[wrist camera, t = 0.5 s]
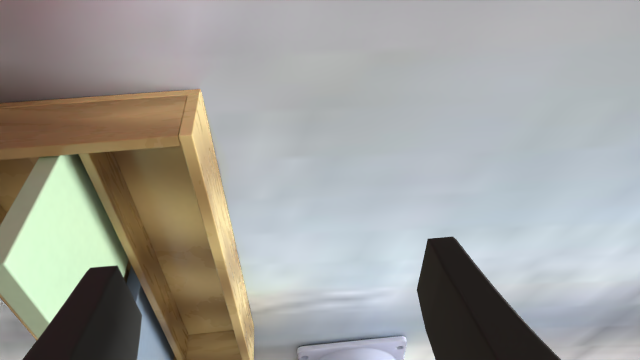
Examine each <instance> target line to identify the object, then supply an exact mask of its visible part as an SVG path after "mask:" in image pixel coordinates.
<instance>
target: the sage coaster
mask: <svg viewBox="0 0 640 360" xmlns="http://www.w3.org/2000/svg"><path fill="white" fill-rule="evenodd" d="M128 260H129V259H128V257H127V254H126V252H125V250H124V248H123V246H122V244H121V242H120V240H119V238H118V236H117V234H116V231H115V229H114V227H113V225H112V223H111V221H110V219H109V217H108V215H107V213H106V211H105V209H104V206H103V204H102V202H101V200H100V198H99V196H98V194H97V192H96V190H95V188H94V186H93V183H92V181H91V179H90V177H89V175H88V173H87V171H86V169H85V167H84V165H83V163H82V160H81V158H80V156H79V154H73V155H60V156H47V157H39V158H38V160H37V162H36V164H35V165H34V167H33V169H32V171H31V172H30V174H29V176H28V178H27V179H26V181H25V183H24V185H23V186H22V188H21V190H20V191H19V193H18V195H17V197H16V198H15V200H14V202H13V204H12V205H11V207H10V209H9V211H8V212H7V214H6V216H5V218H4V219H3V221H2V223H1V225H0V294H1V296H2V297H3V298H4V299H5V300H6V302H7V303H8V304H9V305H10V306H11V308H12V309H13V310H14V311H15V312H16V313H17V315H18V316H19V317H20V318H21V319H22V321H23V322H24V323H25V324H26V325H27V326H28V328H29V329H30V330H31V331H32V332H33V334H34V335H35V336H36V337H37V338H39V337H40V336H41V334H42V333H43V332H44V330H45V329H46V328H47V326H48V325H49V324H50V322H51V321H52V319H53V318H54V317H55V315H56V314H57V313H58V311H59V310H60V308H61V307H62V306H63V304H64V303H65V301H66V300H67V299H68V297H69V296H70V294H71V293H72V291H73V290H74V289H75V287H76V286H77V284H78V283H79V282H80V280H81V279H82V277H83V276H84V275H85V273H86V272H87V271H88V270H89V268H93V267H104V266H116V265H118V267H119V269H120V271H121V273H122V275H123V278H124V275H125V272H126V268H127V264H128Z"/></svg>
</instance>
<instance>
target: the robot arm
mask: <svg viewBox="0 0 640 360" xmlns="http://www.w3.org/2000/svg"><path fill="white" fill-rule="evenodd" d="M417 292H418V297H419V302H420V307H421V311H422V316H423V320H424V324H425V329H426V332H427V335H428V338H429V341H430V344H431V347H432V350H433V353H434V356H435V359H436V360H561V359H560V358H559V357H558V356H557V355H556V354H555V353H554V352H553V351H552V350H551V349H550V348H549V347H548V346H547V345H546V344H545V343H544V342H543V341H542V340H541V339H540V338H539V337H538V336H537V335H536V334H535V332H534V331H533V330H532V329H531V328H530V327H529V326H528V325H527V324H526V323H525V322H524V321H523V319H522V318H521V317H520V316H519V315H518V314H517V313H516V311H515V310H514V309H513V308H512V307H511V306H510V305H509V304H508V302H507V301H506V300H505V299H504V298H503V297H502V296H501V294H500V293H499V292H498V291H497V290H496V289H495V287H494V286H493V285H492V284H491V283H490V281H489V280H488V279H487V278H486V276H485V275H484V274H483V273H482V272H481V270H480V269H479V268H478V267H477V265H476V264H475V263H474V262H473V260H472V259H471V258H470V256H469V255H468V254H467V253H466V251H465V250H464V249H463V247H462V246H461V245H460V244H459V242H458V241H457V240H456V239H455V238H454V237H444V238H432V239H428V241H427V245H426V250H425V255H424V259H423V264H422V269H421V273H420V278H419V283H418V287H417ZM141 322H142V314H141V312H140V310H139V308H138V306H137V304H136V302H135V300H134V298H133V296H132V294H131V292H130V290H129V288H128V286H127V284H126V282H125V280H124V278H123V275H122V273H121V271H120V269H119V267H118V265H116V266H104V267H93V268H89V270H88V271H87V272H86V273H85V275H84V276H83V277H82V279H81V280H80V282H79V283H78V284H77V286H76V287H75V289H74V290H73V291H72V293H71V294H70V296H69V297H68V299H67V300H66V301H65V303H64V304H63V306H62V307H61V308H60V310H59V311H58V313H57V314H56V315H55V317H54V318H53V319H52V321H51V322H50V324H49V325H48V326H47V328H46V329H45V330H44V332H43V333H42V334H41V336H40V337H39V338H38V340H37V341H36V342H35V344H34V345H33V346H32V348H31V349H30V350H29V352H28V353H27V354H26V356H25V357H24V358H23V360H137V356H138V348H139V341H140V331H141ZM406 345H407V341H406V338H405V337H403V336H396V337H386V338H376V339H367V340H357V341H347V342H338V343H328V344H318V345H309V346H301V347H299V348H298V349H297V356H298V360H404V355H405V350H406Z"/></svg>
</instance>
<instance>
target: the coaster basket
mask: <svg viewBox="0 0 640 360" xmlns="http://www.w3.org/2000/svg"><path fill="white" fill-rule="evenodd" d="M73 154H79V156H80V158H81V160H82V163H83V165H84V167H85V169H86V171H87V173H88V175H89V177H90V179H91V181H92V183H93V186H94V188H95V190H96V192H97V194H98V196H99V198H100V200H101V202H102V204H103V206H104V209H105V211H106V213H107V215H108V217H109V219H110V221H111V223H112V225H113V227H114V229H115V231H116V234H117V236H118V238H119V240H120V242H121V244H122V246H123V248H124V250H125V252H126V254H127V257H128V259H129V260H128V264H127V268H126V272H125V275H124V280H125V282H126V283H127V279H128V276H129V272H130V268H131V265H132V267H133V269H134V271H135V273H136V275H137V277H138V280H139V282H140V284H141V286H142V288H143V290H144V292H145V294H146V296H147V298H148V300H149V302H150V305H151V307H152V309H153V311H154V313H155V315H156V317H157V319H158V321H159V323H160V325H161V328H162V330H163V332H164V334H165V336H166V338H167V340H168V342H169V344H170V346H171V348H172V351H173V353H174V359H173V360H254V325H253V320H252V316H251V311H250V307H249V302H248V298H247V293H246V289H245V284H244V280H243V275H242V271H241V267H240V262H239V258H238V253H237V249H236V244H235V240H234V235H233V231H232V226H231V222H230V218H229V213H228V209H227V204H226V200H225V195H224V191H223V186H222V182H221V177H220V173H219V169H218V164H217V160H216V155H215V151H214V146H213V142H212V137H211V133H210V128H209V124H208V120H207V115H206V111H205V106H204V102H203V97H202V93H201V90H200V89H195V90H181V91H166V92H152V93H138V94H124V95H109V96H95V97H81V98H67V99H52V100H38V101H24V102H10V103H0V225H1V223H2V221H3V219H4V218H5V216H6V214H7V212H8V211H9V209H10V207H11V205H12V204H13V202H14V200H15V198H16V197H17V195H18V193H19V191H20V190H21V188H22V186H23V185H24V183H25V181H26V179H27V178H28V176H29V174H30V172H31V171H32V169H33V167H34V165H35V164H36V162H37V160H38V158H39V157H47V156H60V155H73ZM0 298H1V299H2V300H3V301H4V303H5V304H6V305H7V306H8V307H9V309H10V310H11V311H12V312H13V313H14V314H15V316H16V317H17V318H18V319H19V320H20V321H21V323H22V324H23V325H24V326H25V327H26V328H27V330H28V331H29V332H30V333H31V334H32V336H33V337H34V338H35V339H36V340H38V338H37V337H36V336H35V335H34V334H33V332H32V331H31V330H30V329H29V328H28V326H27V325H26V324H25V323H24V322H23V321H22V319H21V318H20V317H19V316H18V315H17V313H16V312H15V311H14V310H13V309H12V308H11V306H10V305H9V304H8V303H7V302H6V300H5V299H4V298H3V297H2V296H1V294H0Z"/></svg>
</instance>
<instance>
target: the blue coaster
mask: <svg viewBox="0 0 640 360" xmlns="http://www.w3.org/2000/svg"><path fill="white" fill-rule="evenodd" d="M126 284H127V286H128V288H129V290H130V292H131V294H132V296H133V298H134V300H135V302H136V304H137V306H138V308H139V310H140V312H141V314H142V322H141V331H140V341H139V348H138V356H137V360H173V359H174V353H173V351H172V348H171V346H170V344H169V342H168V340H167V338H166V336H165V334H164V332H163V330H162V328H161V325H160V323H159V321H158V319H157V317H156V315H155V313H154V311H153V309H152V307H151V305H150V302H149V300H148V298H147V296H146V294H145V292H144V290H143V288H142V286H141V284H140V282H139V280H138V277H137V275H136V273H135V271H134V269H133V267H132V265H131V268H130V272H129V276H128V279H127V283H126Z"/></svg>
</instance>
